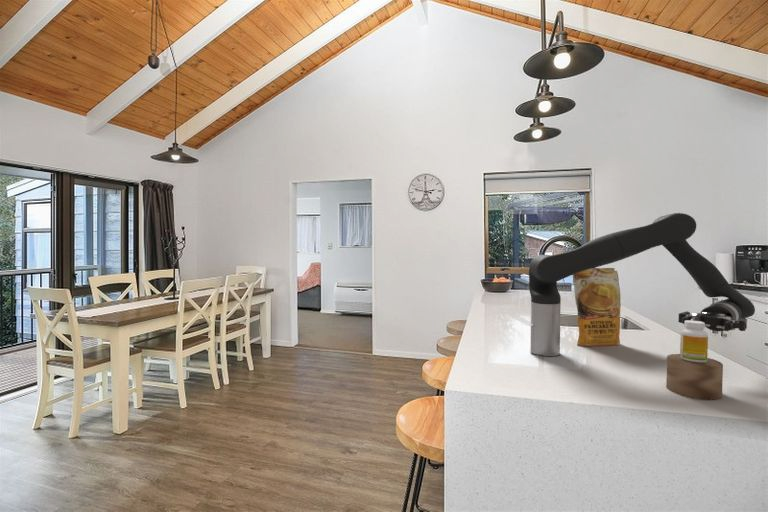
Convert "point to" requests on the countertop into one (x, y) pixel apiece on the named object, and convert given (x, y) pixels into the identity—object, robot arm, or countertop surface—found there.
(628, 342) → the countertop surface
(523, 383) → the countertop surface
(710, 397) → the walnut block
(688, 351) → the supplement bottle
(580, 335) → the pancake mix bag
